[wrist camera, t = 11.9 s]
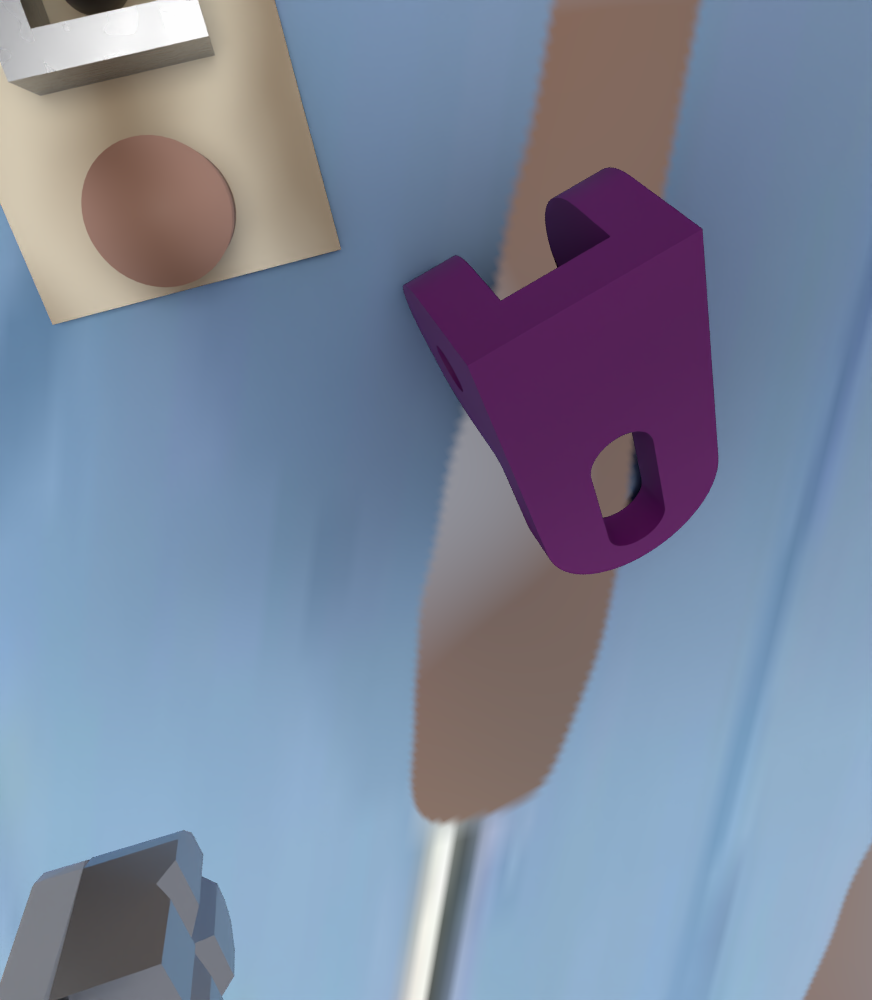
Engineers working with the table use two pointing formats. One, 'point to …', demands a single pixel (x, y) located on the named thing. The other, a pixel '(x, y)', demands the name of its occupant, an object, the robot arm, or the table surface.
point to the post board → (174, 109)
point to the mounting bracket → (588, 368)
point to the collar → (97, 43)
